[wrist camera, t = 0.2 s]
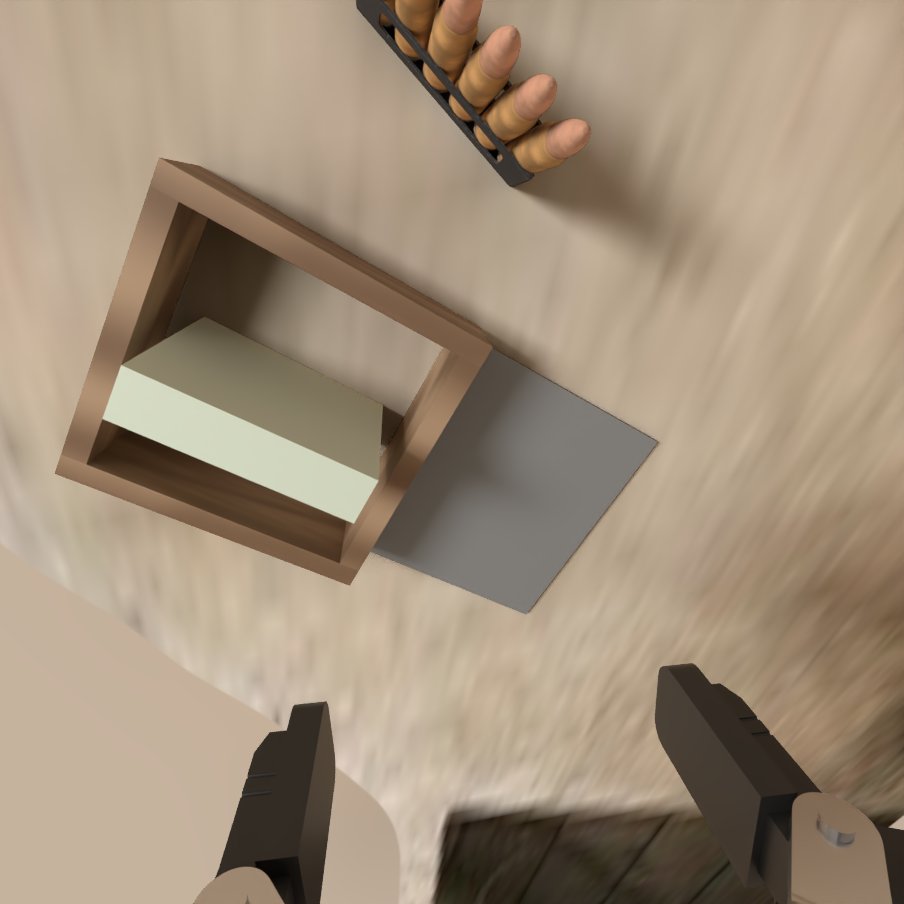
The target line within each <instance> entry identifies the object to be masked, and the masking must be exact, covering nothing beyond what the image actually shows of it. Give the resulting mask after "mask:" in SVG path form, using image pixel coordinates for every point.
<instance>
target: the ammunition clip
mask: <svg viewBox="0 0 904 904" xmlns="http://www.w3.org/2000/svg"><path fill="white" fill-rule="evenodd" d="M482 1H483V0H356V6H357V9H358V10H359V11H360V12H361V14H362V15H363V16H364V17H365V18H366V19H367V21H368V22H369V23H370V24H371V25H372V26H373V28H374V29H375V30H376V31H377V32H378V33H379V35H380V36H381V37H382V38H383V39H384V40H385V42H386V43H387V44H388V45H389V46H390V47H391V49H392V50H393V51H394V52H395V53H396V54H397V56H398V57H399V58H400V59H401V60H402V61H403V63H404V64H405V65H406V66H407V67H408V68H409V70H410V71H411V72H412V73H413V74H414V75H415V77H416V78H417V79H418V80H419V81H420V82H421V84H422V85H423V86H424V87H425V88H426V89H427V91H428V92H429V93H430V94H431V95H432V96H433V98H434V99H435V100H436V101H437V102H438V104H439V105H440V106H441V107H442V108H443V109H444V111H445V112H446V113H447V114H448V115H449V116H450V118H451V119H452V120H453V121H454V122H455V123H456V125H457V126H458V127H459V128H460V129H461V130H462V132H463V133H464V134H465V135H466V136H467V137H468V139H469V140H470V141H471V142H472V143H473V144H474V146H475V147H476V148H477V149H478V150H479V151H480V153H481V154H482V155H483V156H484V157H485V158H486V160H487V161H488V162H489V163H490V164H491V165H492V167H493V168H494V169H495V170H496V171H497V172H498V174H499V175H500V176H501V177H502V178H503V179H504V181H505V182H506V183H507V184H508V185H509V186H511V187H514V186H516V185H519V184H521V183H523V182H526V181H528V180H530V179H532V178H533V177H534V173H535V172H538V171H542V170H546V169H550V168H553V167H556V166H558V165H559V164H561V163H562V162H563V161H564V160H565V159H567V158H568V157H570V156H572V155H574V154H576V153H577V152H578V151H580V150H581V149H582V148H583V147H584V146H585V145H586V143H587V142H588V140H589V138H590V135H591V129H590V126H589V125H588V124H587V123H586V122H584V121H583V120H580V119H566V120H563V121H559V122H553V121H549V122H546V123H543V124H542V123H541V121H540V120H539V117H540V116H541V115H542V114H543V113H544V112H545V111H547V109H548V108H549V107H550V105H551V104H552V102H553V100H554V98H555V95H556V91H557V84H556V81H555V79H554V78H553V77H551V76H550V75H545V74H539V75H536V76H533V77H530V78H528V79H527V80H526V81H523V82H522V83H517V84H514V85H512V84H511V83H510V82H509V81H508V80H509V76H510V72H511V69H512V68H513V66H514V64H515V62H516V61H517V58H518V55H519V51H520V47H521V40H520V34H519V31H518V30H517V29H516V28H515V27H513V26H504V27H501V28H498V29H497V30H496V31H494V32H493V33H492V34H491V35H490V36H489V37H488V38H487V40H486V41H485V42H484V43H482V44H479V42H478V41H477V40H476V37H477V32H478V20H479V16H480V12H481V8H482ZM438 8H439V9H438ZM471 49H472V50H473V52H472V54H471V56H470V57H469V59H468V61H467V63H465V62H466V60H467V58H468V55H469V53H470V51H471ZM502 89H504V91H505V92H504V93H503V94H502V95H501V96H500V97H499V98H498V99H497V100H495V99H494V98H495V97H496V96H497V95H498V94H499V92H500V91H501V90H502ZM531 173H532V174H531ZM528 174H530V175H528Z"/></svg>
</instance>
